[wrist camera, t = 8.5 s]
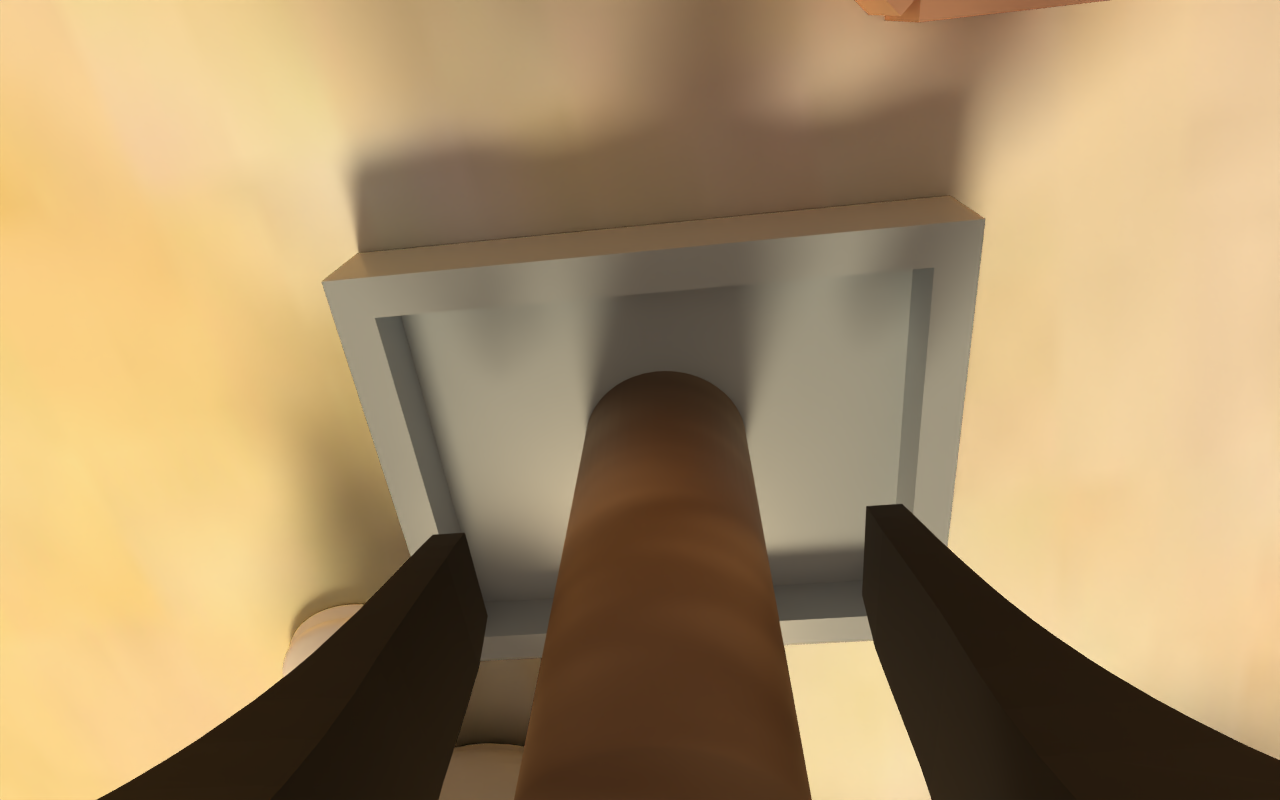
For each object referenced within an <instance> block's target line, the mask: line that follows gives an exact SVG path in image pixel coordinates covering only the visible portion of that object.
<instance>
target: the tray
mask: <svg viewBox="0 0 1280 800" xmlns="http://www.w3.org/2000/svg"><path fill="white" fill-rule="evenodd" d="M984 226H985V218H983V217H982V216H980V215H979V214H977V213H976V212H974V211H973V210H971V209H970V208H968V207H967V206H965V205H964V204H962V203H961V202H959V201H958V200H956V199H955V198H953V197H952V196H950V195H949V196H939V197H929V198H918V199H908V200H898V201H888V202H877V203H867V204H857V205H847V206H836V207H826V208H816V209H805V210H795V211H785V212H775V213H764V214H754V215H744V216H734V217H723V218H713V219H703V220H693V221H682V222H672V223H662V224H651V225H641V226H631V227H621V228H610V229H600V230H590V231H580V232H569V233H559V234H549V235H539V236H528V237H518V238H508V239H497V240H487V241H477V242H467V243H456V244H446V245H436V246H426V247H415V248H405V249H395V250H385V251H374V252H364V253H357V254H356V255H354V256H353V257H352V258H351V259H349V260H348V261H347V262H346V263H344V264H343V265H342V266H341V267H339V268H338V269H337V270H336V271H334V272H333V273H332V274H331V275H329V276H328V277H327V278H326V279H324V280H323V281H322V285H323V288H324V291H325V294H326V297H327V300H328V303H329V306H330V310H331V313H332V316H333V319H334V322H335V325H336V328H337V331H338V334H339V337H340V340H341V343H342V347H343V350H344V353H345V356H346V359H347V362H348V365H349V368H350V371H351V374H352V377H353V380H354V384H355V387H356V390H357V393H358V396H359V399H360V402H361V405H362V408H363V411H364V414H365V417H366V421H367V424H368V427H369V430H370V433H371V436H372V439H373V442H374V445H375V448H376V451H377V455H378V458H379V461H380V464H381V467H382V470H383V473H384V476H385V479H386V482H387V485H388V488H389V492H390V495H391V498H392V501H393V504H394V507H395V510H396V513H397V516H398V519H399V522H400V525H401V529H402V532H403V535H404V538H405V541H406V544H407V547H408V550H409V553H410V556H412V555H413V554H414V553H415V552H416V551H417V550H418V549H419V548H420V547H421V546H422V545H423V544H424V543H425V542H426V541H427V540H428V539H429V538H430V537H431V536H432V535H435V534H450V533H465V535H466V538H467V542H468V546H469V549H470V553H471V557H472V560H473V564H474V568H475V571H476V575H477V578H478V582H479V586H480V589H481V593H482V597H483V600H484V604H485V608H486V611H487V615H488V617H487V624H486V630H485V636H484V643H483V648H482V654H481V659H480V661H489V660H509V659H528V658H542V654H543V649H544V644H545V639H546V634H547V629H548V624H549V618H550V613H551V608H552V603H553V598H554V593H555V588H556V583H557V578H558V573H559V567H560V562H561V557H562V552H563V547H564V542H565V537H566V532H567V527H568V522H569V517H570V511H571V506H572V501H573V496H574V491H575V486H576V481H577V476H578V471H579V466H580V460H581V455H582V450H583V445H584V440H585V435H586V430H587V425H588V422H589V419H590V416H591V414H592V412H593V410H594V408H595V407H596V405H597V404H598V402H599V401H600V400H601V399H602V397H603V396H604V395H605V394H606V393H607V392H609V391H610V390H611V389H612V388H614V387H615V386H616V385H618V384H620V383H621V382H623V381H625V380H627V379H629V378H632V377H634V376H637V375H641V374H644V373H649V372H656V371H675V372H682V373H687V374H691V375H694V376H697V377H700V378H702V379H704V380H706V381H708V382H710V383H712V384H713V385H715V386H716V387H718V388H719V389H720V390H721V391H723V392H724V393H725V394H726V395H727V396H728V397H729V398H730V399H731V400H732V402H733V403H734V405H735V406H736V407H737V409H738V411H739V413H740V415H741V417H742V420H743V423H744V426H745V432H746V438H747V443H748V449H749V454H750V460H751V465H752V471H753V476H754V482H755V488H756V493H757V499H758V504H759V510H760V515H761V521H762V526H763V532H764V538H765V543H766V549H767V554H768V560H769V565H770V571H771V577H772V582H773V588H774V593H775V599H776V604H777V610H778V615H779V621H780V627H781V632H782V638H783V643H784V645H798V644H817V643H837V642H856V641H873V638H872V634H871V630H870V626H869V622H868V618H867V614H866V609H865V605H864V601H863V597H862V584H863V563H864V542H865V521H866V506H875V505H890V504H903V505H904V506H905V507H906V508H907V509H908V510H909V511H910V512H912V513H913V514H914V515H915V516H916V517H917V518H918V519H919V520H920V521H921V522H922V523H923V524H924V525H925V526H926V527H927V528H928V529H929V530H930V531H931V532H932V533H933V534H934V535H935V536H936V537H937V538H938V539H939V540H940V541H941V542H942V543H944V544H945V545H946V546H948V537H949V528H950V520H951V511H952V502H953V494H954V485H955V477H956V468H957V459H958V451H959V442H960V433H961V425H962V416H963V408H964V399H965V390H966V382H967V373H968V364H969V356H970V347H971V338H972V330H973V321H974V313H975V304H976V295H977V287H978V278H979V269H980V261H981V252H982V244H983V235H984Z"/></svg>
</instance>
